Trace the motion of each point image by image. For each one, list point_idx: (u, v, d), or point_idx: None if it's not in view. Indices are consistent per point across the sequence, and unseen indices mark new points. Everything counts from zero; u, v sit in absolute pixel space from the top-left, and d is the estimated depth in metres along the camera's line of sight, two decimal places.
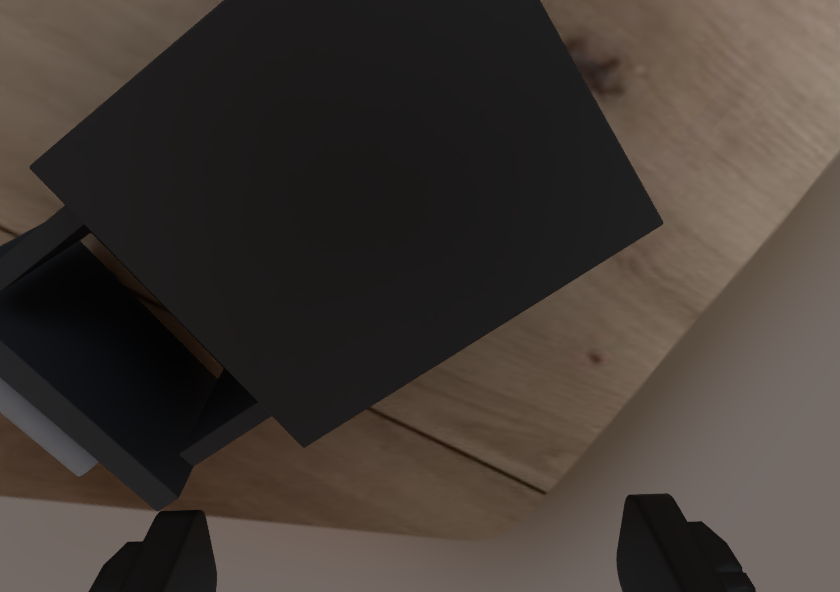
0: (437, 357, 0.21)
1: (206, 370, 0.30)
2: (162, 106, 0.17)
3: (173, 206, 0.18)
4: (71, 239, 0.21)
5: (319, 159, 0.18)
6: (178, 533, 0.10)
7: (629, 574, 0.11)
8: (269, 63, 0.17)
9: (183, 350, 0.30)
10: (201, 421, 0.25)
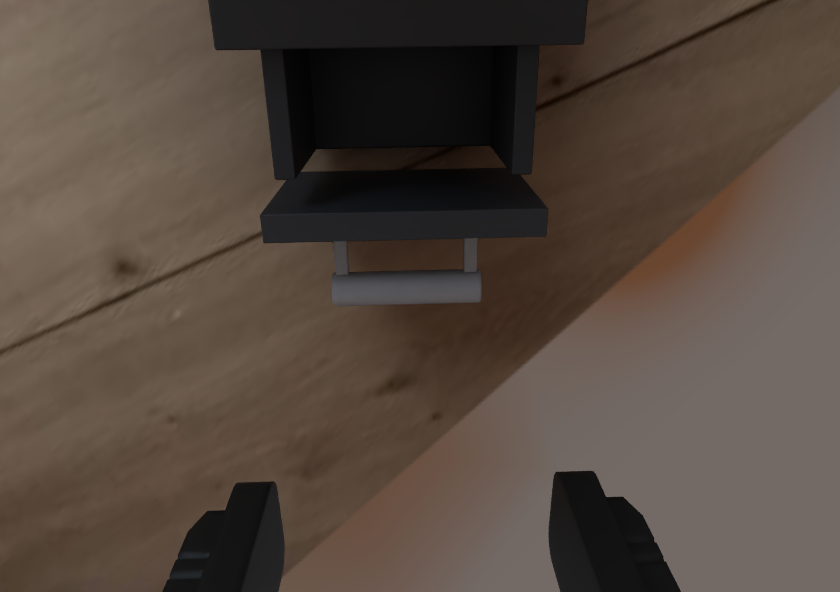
0: None
1: (483, 169, 0.31)
2: None
3: None
4: (296, 114, 0.24)
5: None
6: (257, 502, 0.11)
7: (557, 547, 0.12)
8: None
9: (453, 170, 0.31)
10: (505, 153, 0.25)
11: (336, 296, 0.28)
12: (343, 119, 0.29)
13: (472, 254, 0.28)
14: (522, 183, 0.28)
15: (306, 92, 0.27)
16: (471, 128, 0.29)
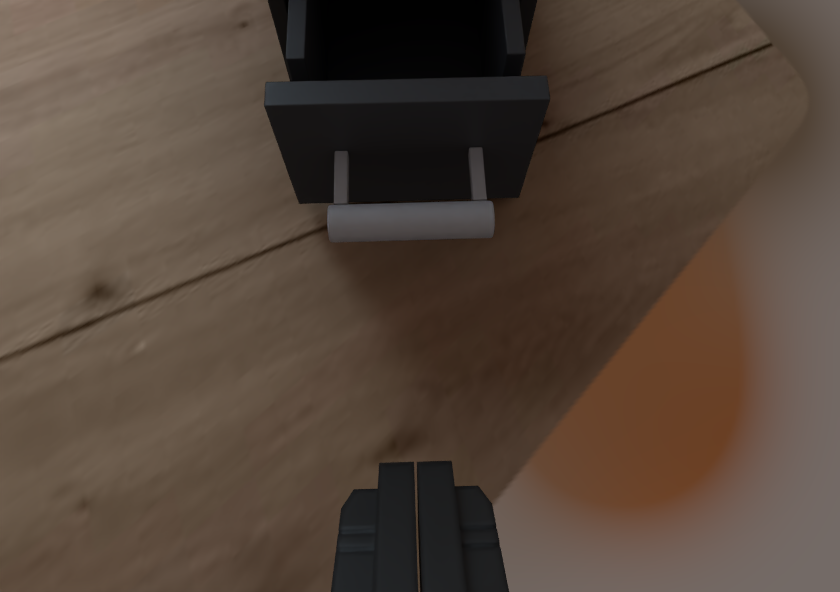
0: None
1: None
2: None
3: None
4: (312, 46, 0.27)
5: None
6: (406, 480, 0.11)
7: None
8: None
9: None
10: (500, 72, 0.27)
11: (332, 214, 0.25)
12: None
13: (480, 181, 0.26)
14: None
15: None
16: None
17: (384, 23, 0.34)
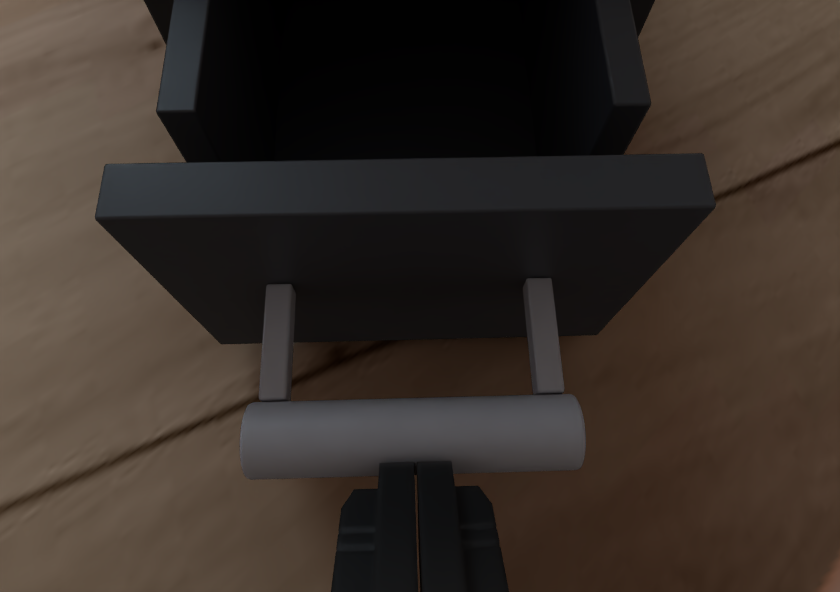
0: None
1: None
2: None
3: None
4: (229, 81, 0.14)
5: None
6: (406, 480, 0.11)
7: None
8: None
9: None
10: (587, 134, 0.14)
11: (250, 434, 0.12)
12: None
13: (550, 352, 0.13)
14: None
15: (260, 138, 0.17)
16: None
17: (372, 36, 0.21)
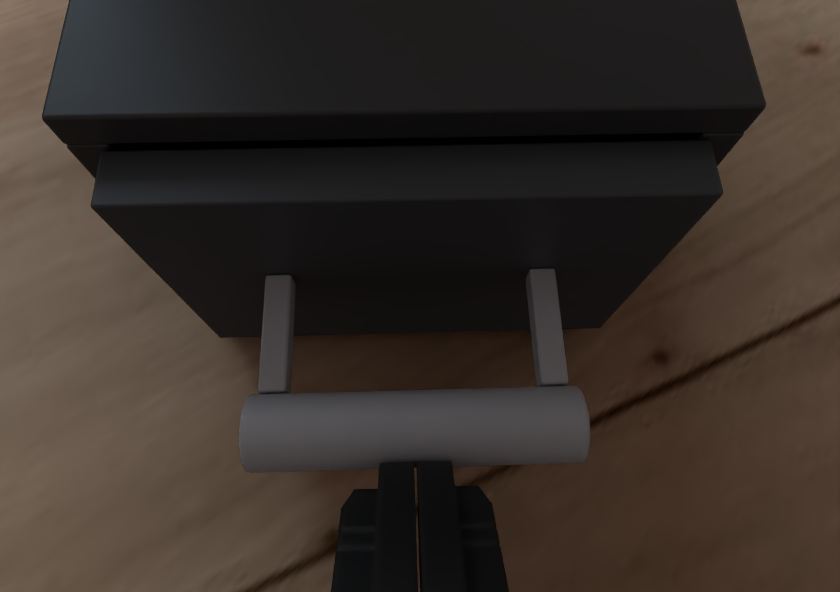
0: None
1: None
2: None
3: (245, 0, 0.11)
4: None
5: None
6: (406, 480, 0.11)
7: None
8: None
9: None
10: None
11: (249, 426, 0.12)
12: None
13: (554, 343, 0.13)
14: None
15: None
16: None
17: None
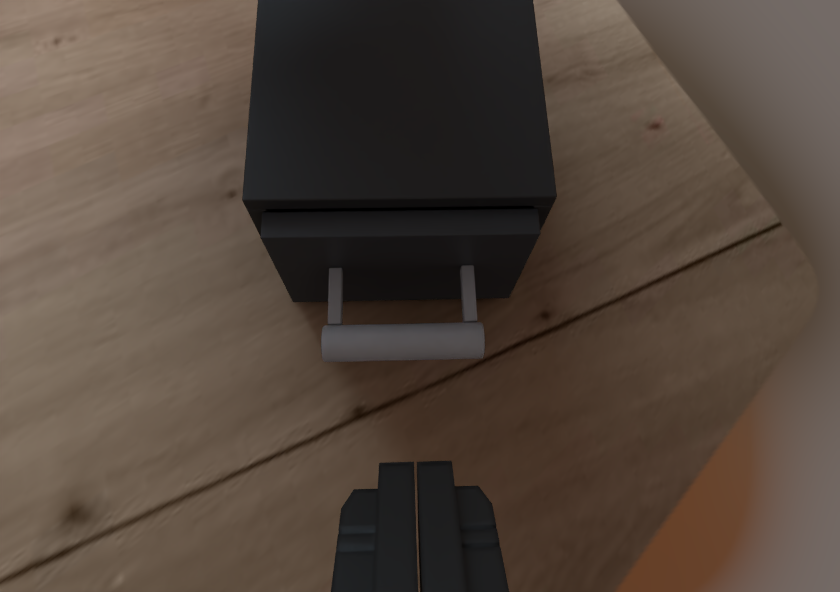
0: (536, 73, 0.26)
1: None
2: (273, 107, 0.25)
3: (327, 143, 0.25)
4: None
5: (362, 56, 0.27)
6: (406, 480, 0.11)
7: None
8: (297, 46, 0.27)
9: None
10: None
11: (326, 338, 0.26)
12: None
13: (471, 302, 0.27)
14: None
15: None
16: None
17: None
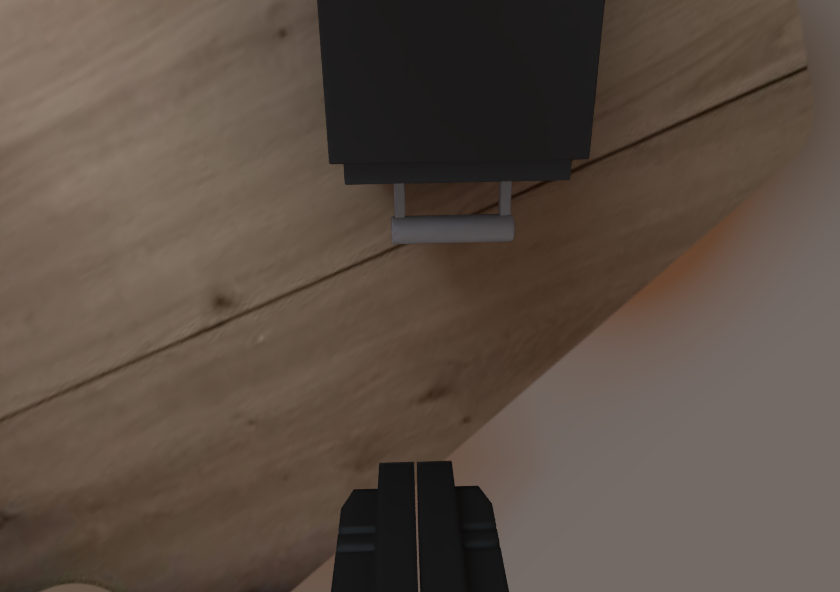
0: (597, 20, 0.27)
1: None
2: (344, 66, 0.27)
3: (396, 106, 0.28)
4: None
5: None
6: (406, 480, 0.11)
7: None
8: None
9: None
10: None
11: (395, 234, 0.34)
12: None
13: (507, 200, 0.34)
14: None
15: None
16: None
17: None
